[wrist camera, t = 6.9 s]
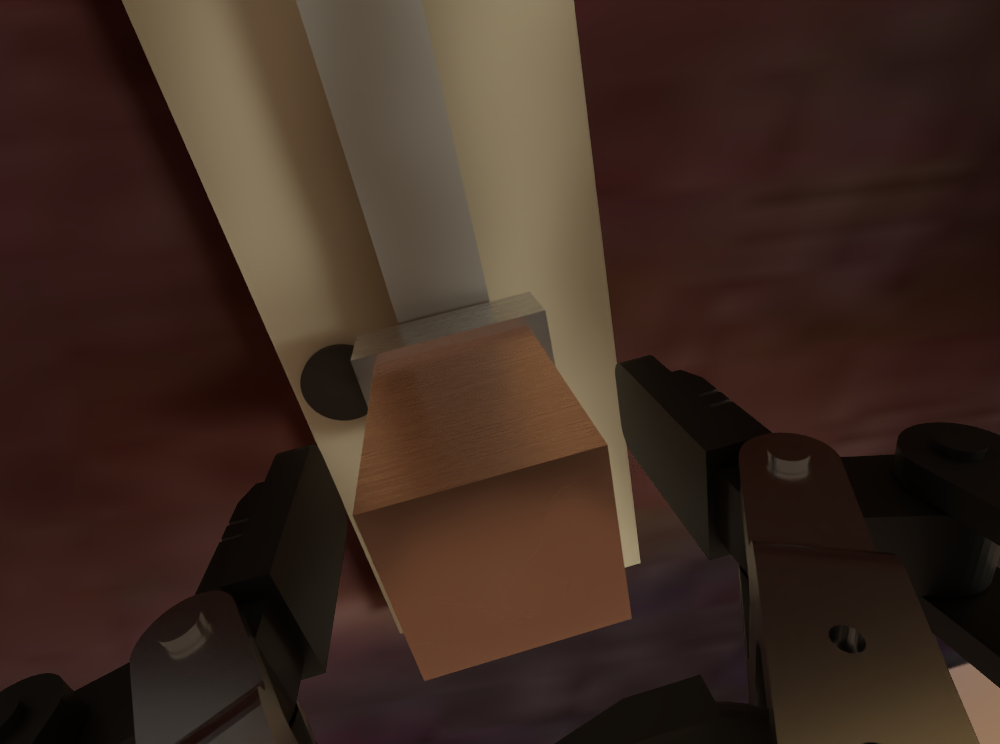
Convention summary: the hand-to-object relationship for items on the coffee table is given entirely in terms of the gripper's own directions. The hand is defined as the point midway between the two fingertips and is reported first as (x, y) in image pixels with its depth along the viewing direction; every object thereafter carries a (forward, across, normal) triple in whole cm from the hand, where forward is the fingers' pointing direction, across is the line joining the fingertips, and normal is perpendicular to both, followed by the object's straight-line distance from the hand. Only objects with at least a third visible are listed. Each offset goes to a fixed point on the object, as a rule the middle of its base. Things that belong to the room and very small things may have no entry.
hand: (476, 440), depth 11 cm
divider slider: (+5, 0, 0) cm, 5 cm away
